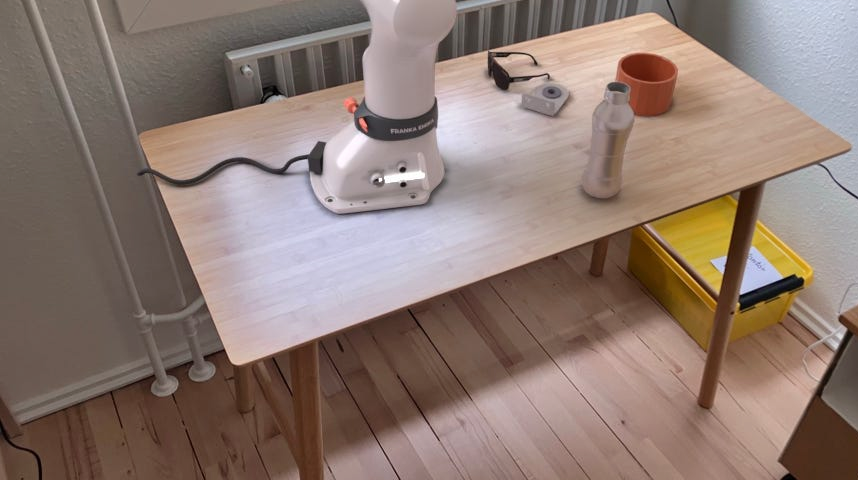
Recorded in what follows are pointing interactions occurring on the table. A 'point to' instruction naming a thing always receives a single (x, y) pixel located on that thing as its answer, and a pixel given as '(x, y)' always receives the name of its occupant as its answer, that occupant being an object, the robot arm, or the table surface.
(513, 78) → the sunglasses
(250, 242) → the table surface
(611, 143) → the plastic bottle
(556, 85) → the bracket
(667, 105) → the holder sleeve
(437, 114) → the robot arm
